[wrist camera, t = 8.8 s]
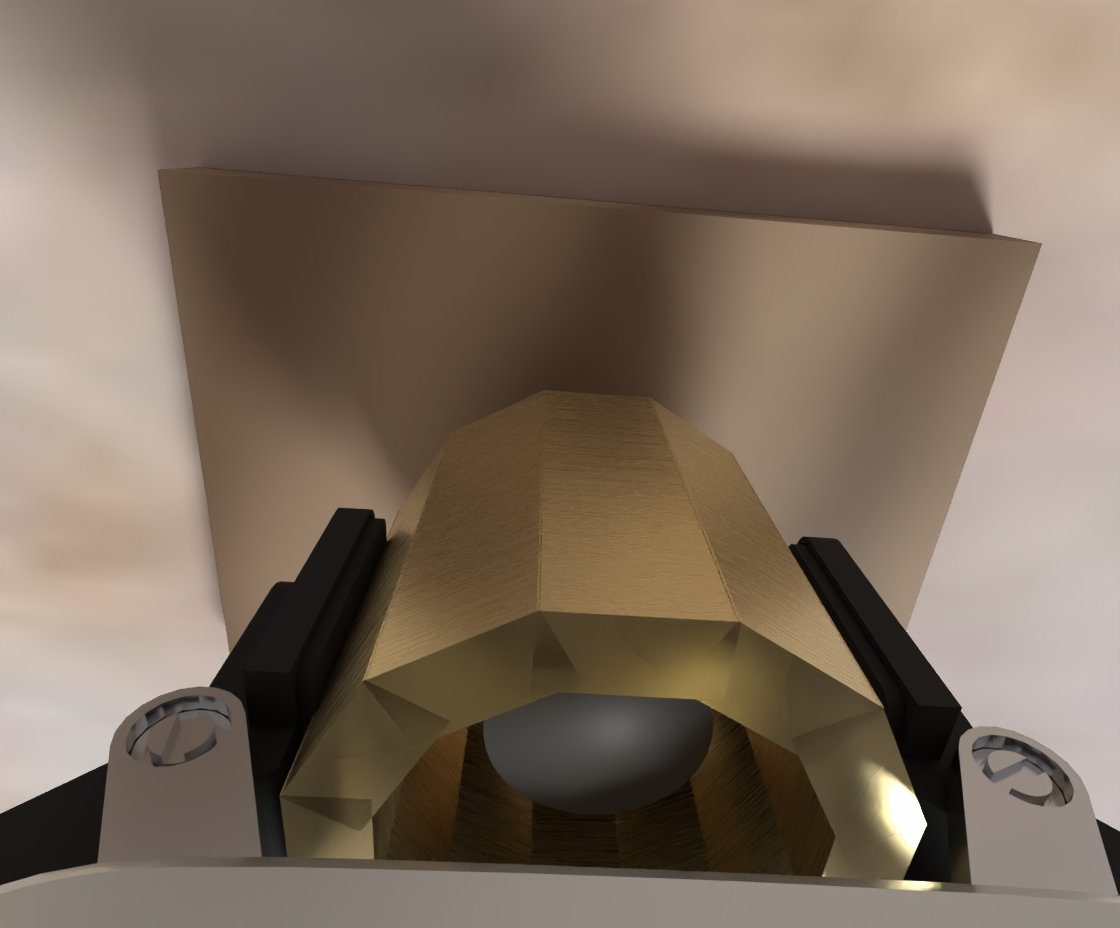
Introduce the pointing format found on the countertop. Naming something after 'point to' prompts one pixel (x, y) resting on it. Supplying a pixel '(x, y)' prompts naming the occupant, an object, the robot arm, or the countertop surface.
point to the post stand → (575, 385)
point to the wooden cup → (597, 662)
